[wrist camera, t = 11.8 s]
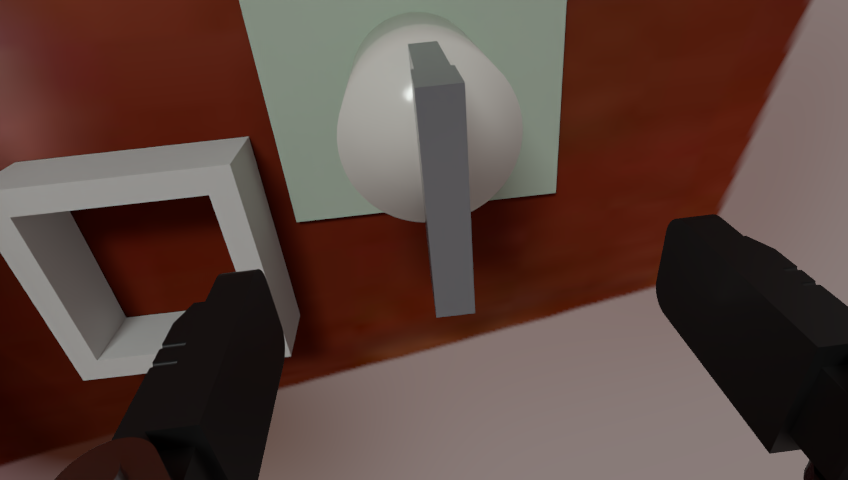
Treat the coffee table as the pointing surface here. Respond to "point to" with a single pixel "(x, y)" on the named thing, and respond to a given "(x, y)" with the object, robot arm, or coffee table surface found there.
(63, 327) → the frame
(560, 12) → the mat
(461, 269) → the egg with flat handle
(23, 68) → the coffee table surface
